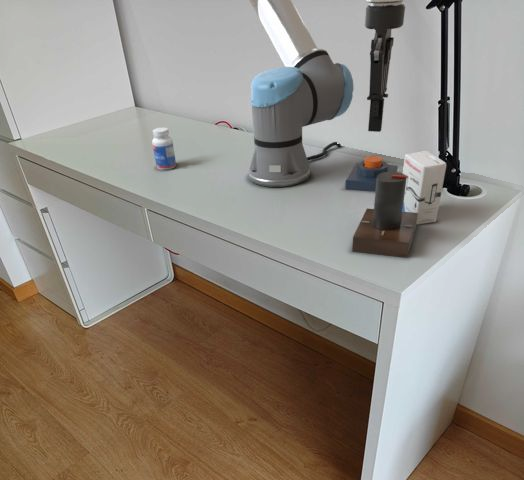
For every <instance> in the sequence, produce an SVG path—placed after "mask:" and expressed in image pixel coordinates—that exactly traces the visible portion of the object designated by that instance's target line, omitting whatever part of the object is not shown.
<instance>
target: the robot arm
mask: <svg viewBox="0 0 524 480" xmlns="http://www.w3.org/2000/svg"><path fill="white" fill-rule="evenodd" d="M365 1H366V2H367V3H368V5H367V6H366V7H365V19H364V22H365V23H364V27H365V28H366V29H368V30H374V31H375V32H374V37H373V39H371V40H370V43H371V44H370V52H369V57H370V58H369V59H370V61H369V62H370V65H369V66H370V67H369V91H368V93H369V94H368V96H367V97H366V101H370V102H369V114H368V126H367V127H368V129H367V131H368V132H375V133H381V131H382V127H383V117H384V106H385V98H388V97H389V93H386V92H387V91H388V80H389V71H390V64H391V58H392V49H393V47H394V42H395V41H394V39H395V37H392V30H394V29H395V30H396V29H399V28H402V27H403V25H404V22H405V11H406V6H405V4H404V3H403V2H405V0H365ZM249 2H250V4H251V6H252V8H253V9H254V11H255V13H256V15H257V17H258V18H259V20H260V22H261V25H262V26H263V28H264V30H265V32H266V33H267V35H268V37H269V39H270V41H271V43H272V45H273V47H274V49H275V50H276V53H277V54H278V56H279V58H280V59H281V61H282V63H283V65H284V66H282V67H278V68H275V67H274V68H271V69H267V70H265V71H262V72H260V73H259V74H257V75H256V76H255V77H254V78H253V79H252V82H251V84H250V104H251V116H252V129H253V143H254V144H253V150H252V155H251V159H250V162H249V163H250V164H249V167H248V177H249V181H250V182H252V184H255V185H258V186H261V187H267V188H282V187H292V186H296V185H298V184H302V183H304V182H305V181H307V180H308V179H309V178H310V176H311V167H310V164H309V163H310V162H309V161H313V160H316V159H320V158H322V157H324V156H326V154H327V151H328V150H329V149H331V148H333V147H335V146H336V147H338V148H341V147H342V144H341V143H339V142H338V141H333V142H331V143H329V144H328V145H326V146H324V147H323V149H322V151H321V152H320V153H318V154H314V155H310V156H307V154H306V151H305V148H304V145H303V128H304V127H307V126H311V125H315V124H319V123H322V122H325V121H326V122H327V121H332V120H333V119H335V118H337V117H340V116H343V115H344V114H345V113H346V112H347V111H348V109H349V108H350V106H351V103H352V101H353V93H354V88H355V87H354V79H353V75H352V72H351V70H350V69H349V68H348V67H347V66H346V65H345V64H342V63H340V62H335V63H334V62H333V60H332V58H331V56H330V54H329V52H328V51H327V50H326V49H323V48H318V46H317V44H316V42H315V41H314V39H313V37H312V36H311V34H310V33H311V32H310V31H309V29H308V28H307V26H306V23H305V22H304V21H303V18H302V17H301V15H300V13H299V11H298V9H297V7H296V6H295V4H294V1H293V0H249ZM337 142H338V143H339V144H337Z"/></svg>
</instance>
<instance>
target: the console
mask: <svg viewBox="0 0 524 480" xmlns="http://www.w3.org/2000/svg"><path fill="white" fill-rule="evenodd" d="M373 213H374V208H366V209H365V211H364V214H363V215H362V217H361V220H360V222H359V224H358V226H357V228H356V230H355V232H354V233H353V236H352V246H351V248H352V249H351V251H352V252H354V253H363V254H373V255H379V256H389V257H395V258H396V257H397V258H406V259H407V258H408V256H409V253H410V249H411V247H412V246H411V245H412V243H413V239H414V235H415V231H416V229H417V225H416V223H417V216H418V213H413V212H402V219H401V226H400V227H399V228H397V229H394V230H382V229H378V228H376V227H374V226H373Z"/></svg>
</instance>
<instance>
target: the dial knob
mask: <svg viewBox="0 0 524 480" xmlns="http://www.w3.org/2000/svg"><path fill="white" fill-rule="evenodd" d="M406 179H407V176H406V175H405V174H403V172H399V171H397V172H384V173H380V174H378V175H377V179H376V190H375V192H374V203H373V209H374V213H373V226H374V227H376V228H378V229H382V230H394V229H397V228H399V227H400V226H401V219H402V211H403V203H404V195H405V187H406Z"/></svg>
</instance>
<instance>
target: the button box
mask: <svg viewBox="0 0 524 480" xmlns="http://www.w3.org/2000/svg"><path fill="white" fill-rule="evenodd" d="M364 163H365V160H363V161H360V162H356V163H355V165H354V166H353V168H352V170H351V171H350V173H349V175H348V176H347V178H346V179H345V190H351V191H361V192H362V191H363V192H373V193H375V190H376V179H377V175H378V174H380V173H384V172H398V167H399V166H398V164H388V162H386V161H383V160H382V167H380V168H367V167H364Z"/></svg>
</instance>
